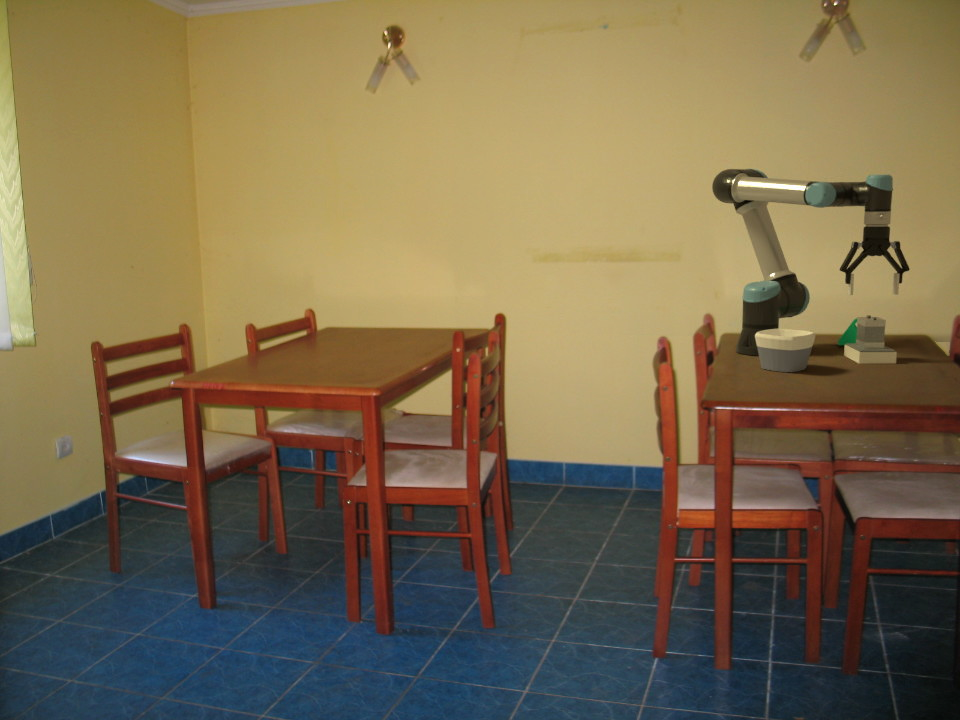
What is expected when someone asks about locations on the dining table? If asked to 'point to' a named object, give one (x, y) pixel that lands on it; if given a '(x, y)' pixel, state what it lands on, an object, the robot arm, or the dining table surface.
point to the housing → (870, 332)
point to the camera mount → (849, 334)
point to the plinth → (870, 354)
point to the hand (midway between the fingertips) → (872, 294)
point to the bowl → (784, 349)
